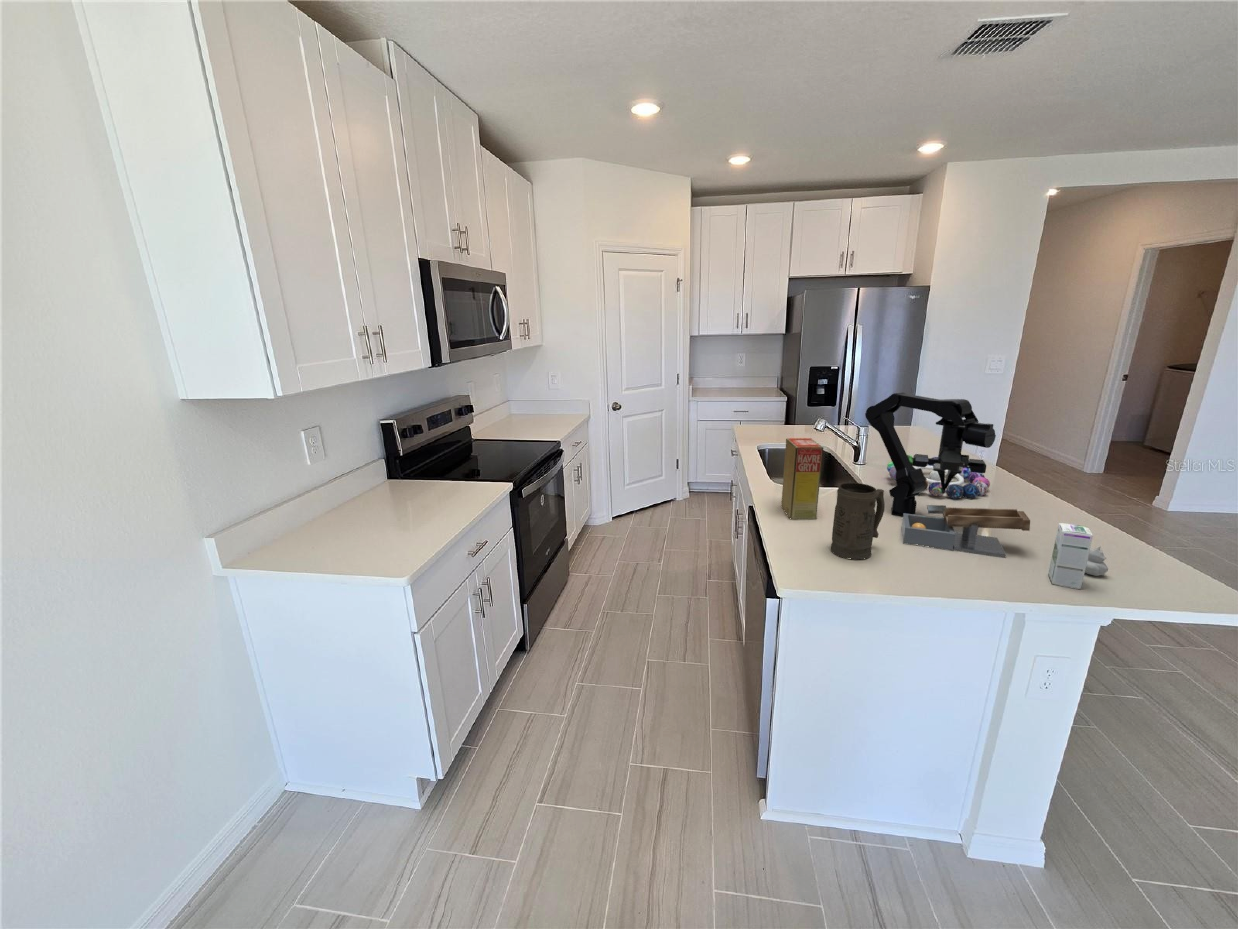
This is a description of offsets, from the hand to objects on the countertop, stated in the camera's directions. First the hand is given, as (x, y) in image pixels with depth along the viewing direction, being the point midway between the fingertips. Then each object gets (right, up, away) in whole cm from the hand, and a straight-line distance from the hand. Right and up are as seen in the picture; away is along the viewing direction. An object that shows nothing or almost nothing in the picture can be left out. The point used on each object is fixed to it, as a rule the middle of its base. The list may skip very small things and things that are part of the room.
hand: (943, 489), depth 158 cm
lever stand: (+2, -16, -11) cm, 19 cm away
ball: (-11, -12, -6) cm, 17 cm away
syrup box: (+9, -22, -32) cm, 40 cm away
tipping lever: (+3, -8, -9) cm, 13 cm away
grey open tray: (-9, -14, -6) cm, 18 cm away
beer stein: (-33, -17, -12) cm, 39 cm away
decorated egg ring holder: (+22, -1, +39) cm, 45 cm away
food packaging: (-39, -9, +17) cm, 44 cm away
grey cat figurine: (+19, -20, -28) cm, 40 cm away
